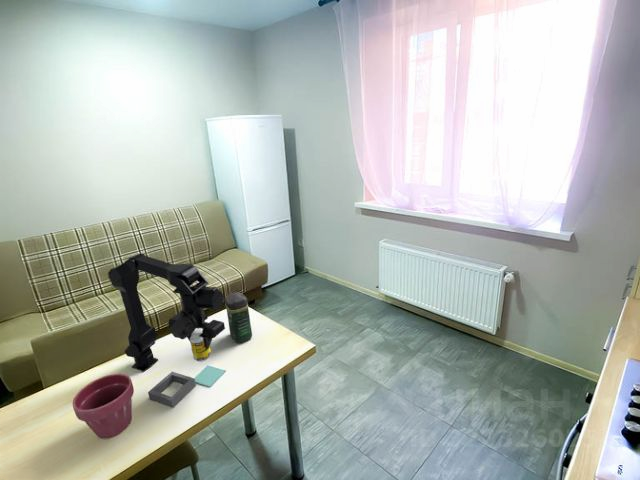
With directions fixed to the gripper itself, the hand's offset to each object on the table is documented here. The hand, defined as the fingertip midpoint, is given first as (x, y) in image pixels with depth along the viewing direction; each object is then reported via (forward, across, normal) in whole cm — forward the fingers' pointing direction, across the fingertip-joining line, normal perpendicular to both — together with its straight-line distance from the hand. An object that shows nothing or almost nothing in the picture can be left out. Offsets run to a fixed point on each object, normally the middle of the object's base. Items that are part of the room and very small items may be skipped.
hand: (200, 346), depth 111 cm
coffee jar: (+13, -3, +24) cm, 27 cm away
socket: (+13, -6, -9) cm, 17 cm away
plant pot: (+13, -12, -25) cm, 31 cm away
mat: (+13, 0, +1) cm, 13 cm away
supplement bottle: (+4, 0, 0) cm, 4 cm away
